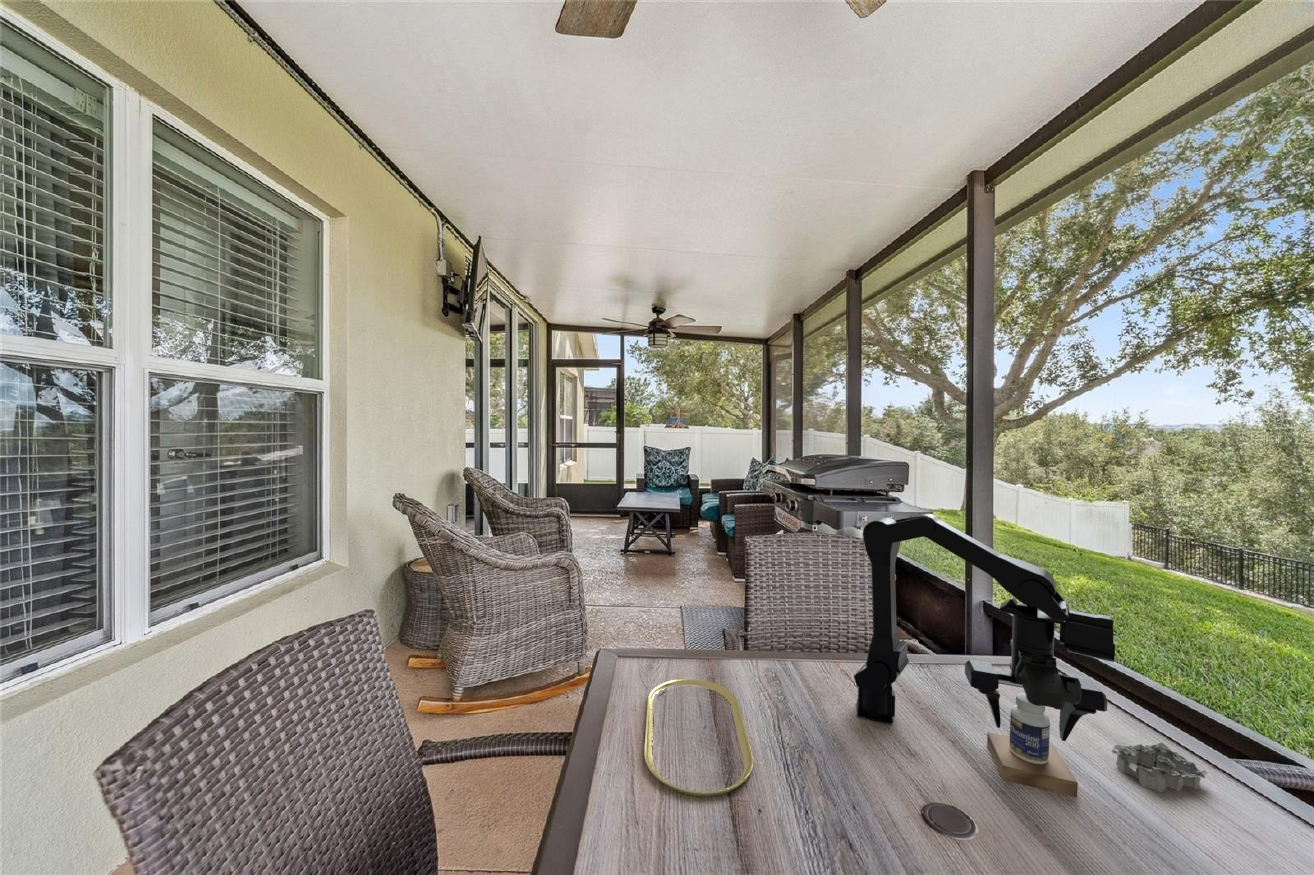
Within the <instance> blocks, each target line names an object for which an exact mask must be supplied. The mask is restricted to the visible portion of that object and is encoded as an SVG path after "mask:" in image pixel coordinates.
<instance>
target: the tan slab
mask: <svg viewBox="0 0 1314 875" xmlns="http://www.w3.org/2000/svg"><path fill="white" fill-rule="evenodd" d="M986 733H987V734H986V736H987V738H986V740H987V741H986V744H987V745H986V747H987V748H988V750H989V752H990V755H991V757H992V759H993V761H994V764H995V766H996V768H997V770H998V773H999V776H1000V777H1001V780H1002V781H1006V782H1010V783H1013V784H1014V783H1015V784H1018V785H1022V786H1025V787H1026V786H1027V787H1031V788H1036V789H1040V790H1044V791H1047V792H1048V791H1049V792H1052V793H1057V794H1062V795H1066V796H1070V797H1074V798H1078V794H1079V793H1078V788H1079V787H1078V786H1079V785H1078V784H1079V782H1078V780H1077V779H1076V777H1075V776H1074V774H1073V773H1072V771H1071V769H1070V768H1069V767H1068V765H1067V763H1066V762H1065V761H1064V759H1063V757H1062V756H1061V755H1060V753H1059V750H1057V748H1056V747H1055V745H1052V744H1049V757H1048V762H1047V763H1045V764H1033V763H1029V762H1027V761H1024V760H1022V759H1020V758H1019V757H1017V756H1016V755H1014V754H1013V753H1012V752H1011V750H1010V735H1006V734H1005V735H1004V734H1001V733H996V732H995V733H994V732H992V731H991V732H990V731H987V732H986Z"/></svg>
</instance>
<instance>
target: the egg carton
mask: <svg viewBox="0 0 1314 875" xmlns="http://www.w3.org/2000/svg"><path fill="white" fill-rule="evenodd" d="M1111 753H1112V754H1113V755H1116V765H1117V770H1118V771H1120V772H1121V773H1123V774H1127V775H1131V776H1133V777H1135V778H1137V779H1138V784H1140V785H1141V786H1143V787H1144V788H1149V789H1152V790H1154V791H1157V792H1159V793H1160V792H1165V791H1166V790H1165V789H1166V788H1167V787H1168V788H1171V789H1174V790H1176V791H1182V790H1183V786H1186V787H1189V788H1192V789H1194V790H1201V785H1200V784H1201V780H1202V779H1205V776H1206V775H1208V773H1207V771H1206V770H1200V769H1199V768H1198V767H1197V766H1196V763H1194V762H1193V761H1189V760H1188V759H1187V758H1186V757H1184V756H1182V755H1181V754H1180V753H1178V752H1177V751H1173V750H1172V749H1171V748H1170V747H1168V746H1167V745H1166V744H1165V743H1163V742H1159V743H1157V744H1151V745H1148V744H1145V745H1143V744H1137V745H1128V746H1125V745H1120V744H1116V745H1114V747H1113V748H1112V750H1111ZM1155 762H1156V767H1155ZM1138 764H1140V765H1138ZM1142 765H1143V766H1142ZM1144 766H1145V767H1148V768H1145V767H1144ZM1149 767H1150V768H1151V769H1149ZM1201 778H1202V779H1201Z"/></svg>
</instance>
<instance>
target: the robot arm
mask: <svg viewBox="0 0 1314 875" xmlns="http://www.w3.org/2000/svg"><path fill="white" fill-rule="evenodd" d="M918 538H926V539H928V540H930V541H932V542H933V543H935V544H936V545H938V546H940V547H942V548H943V549H945V550H947V551H948V552H950V553H952V554H954V555H955V556H956V557H959V558H960V559H961V560H964V561H965V562H968V563H969V564H971V565H973V566H974V567H976V568H977V569H979V570H980V571H983V572H984V573H986V574H987V575H989V576H990V577H991V578H993V579H994V580H995V581H996V582H997V583H998V585H1000V586H1001V587H1002V588H1003V590H1005V591H1006V592H1007V593H1009V594H1010V595H1011V597H1010V598H1009V599H1008V600H1006V601H1004V602H1002V603H1001V605H1000V607H999V609H998V610H999V612H1001V613H1004V614H1010V615H1012V626H1011V627H1012V628H1011V629H1012V631H1011V633H1012V634H1011V639H1010V643H1009V644H1010V647H1011V659H1010V660H1011V662H1009V669H1010V673H1009V672H1004V671H1003V672H1002V671H997V670H995V668H994V666H993V665H992V663H991V662H985V661H984V662H983V661H980V660H973V659H968V660H967V661H966V662H965V664H964V674H965V677H966V678H967V681H968V683H969V685H970V687H972V688H974V689H976V690H978V692H979V693H980V694H983V695H985V696H986V698H987V702H988V705H989V708H990V711H991V715H992V717H993V720H994V723H995V726H996V728H998V729H1000V728H1001V721H1002V720H1001V708H1000V698H1001V694H1000V691H998V689H999V687H1000V686H999V685H1000V684H1001V685H1006V686H1011V687H1016V688H1022V689H1023V691H1024V693H1026V698H1027V700H1028V701H1029V702H1030V703H1031V704H1033V705H1036V706H1045V707H1047V708H1052V709H1055V710H1059V723H1058V724H1059V725H1058V729H1059V730H1058V731H1059V738H1060V739H1061V741H1062V742H1066V741H1067V740H1068V738H1069V736H1070V734H1071V733H1072V731H1073V729H1074V727H1075V726H1076V725H1077V723H1078V722H1079V720H1080V719H1081V718H1082V717H1083V716H1085V715H1088V714H1091V715H1095V714H1096V713H1097V711H1099V712H1104V713H1105V712H1107V711H1108V698H1107V695H1106V694H1105V693H1104V692H1103V691H1102V690H1101V689H1100V688H1099V687H1098V686H1097V684H1095V683H1094V682H1093V680H1091V679H1089V678H1084V677H1083V678H1082V677H1078V676H1071V675H1065V674H1061V673H1059V670H1058V667H1057V658H1056V656H1055V655H1054V654H1055V653H1054V652H1055V648H1054V647H1055V627H1056V626H1055V625H1056V624H1057V625H1059V644H1061V645H1063V644H1064V645H1063V648H1064V649H1067V652H1068V653H1073V654H1078V655H1081V656H1085V657H1088V658H1089V657H1090V658H1095V659H1098V660H1103V661H1105V662H1106V661H1107V662H1112V663H1114V662H1115V658H1116V657H1115V656H1116V642H1115V638H1114V637H1115V636H1114V619H1113V617H1112V616H1109V615H1104V614H1094V613H1088V612H1083V611H1077V610H1072V609H1070V605H1069V604H1068V603H1067V601H1065V599H1064V598H1063V597H1062V595H1061V594H1060V593H1059V592H1058V590H1057V584H1056V580H1055V578H1054V576H1053V575H1052V574H1051V572H1049V570H1047V569H1045V568H1042V567H1040V566H1038V565H1035V564H1032V563H1030V562H1027V561H1024V560H1022V559H1018V558H1016V557H1015V558H1014V557H1010V556H1009V555H1005V554H1003V553H1000V552H998V551H997V550H995V549H993V548H991V547H990V546H988V545H986V544H985V543H982V542H980V541H979V540H977V539H975V538H973V537H971V536H970V535H968V534H966V533H965V532H963V531H961V530H959V529H957V528H955V527H953V526H952V525H950V524H949V523H946V522H945V521H943V520H941V519H940V518H938V517H937V516H936V515H935V514H932V513H925V514H921V515H918V516H912V517H906V518H905V517H904V518H900V519H899V518H898V519H894V518H892V517H891V518H890V517H886V516H884V517H880V518H878V519H875V520H873V521H869V522H868V523H867V524H866V525H865V526H864V527H863V531H862V539H863V543H864V544H863V545H864V548H865V549H864V550H865V552H866V554H867V556H868V559H869V561H870V564H871V593H872V594H871V595H872V596H871V597H872V602H871V603H872V630H873V631H872V632H873V633H872V638H871V641H870V643H869V647H868V652H867V657H866V662H865V663H864V664H863V665H862V666H861V667H860V668H859V670H857V672H856V673H855V674H854V675H853V678H854V682H855V684H856V687H857V699H856V717H858V718H860V719H861V718H862V719H867V720H872V721H877V722H881V723H886V724H889V725H891V724H892V725H893V723H894V722H893V721H894V719H893V718H894V717H896V716H895V715H896V694H895V693H896V692H895V691H894V690H893V685H892V684H894V683H895V682H896V680H897V679H898V678H899V677H900V675H901V674H902V672H903V671H904V670H905V668H906V667H907V666H908V664H909V663H910V660H909V658H908V654H907V653H908V646H909V644H908V642H902V641H901V640H900V637H899V636H898V630H897V601H896V600H897V594H896V588H897V587H896V561H897V558H898V555H899V551H900V547H901V542H904V541H909V540H910V541H911V540H913V539H918ZM1016 599H1017V600H1016Z"/></svg>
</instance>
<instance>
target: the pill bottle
mask: <svg viewBox="0 0 1314 875" xmlns="http://www.w3.org/2000/svg"><path fill="white" fill-rule="evenodd" d="M1045 712H1046V706H1036V705H1033V704H1031V703H1030V702H1029V701H1028V700H1027V698H1026V693H1025V692H1018V693H1017V694H1016V695H1015V704H1014V705H1013V706H1011V708H1010V714H1009V715H1010V719H1009V720H1010V721H1009V722H1010V725H1009V736H1010V750H1011V752H1012V753H1013V754H1014V755H1016V756H1017V757H1019V758H1020V759H1022V760H1024V761H1027V762H1029V763H1033V764H1045V763H1047V762H1048V757H1049V745H1050V734H1051V732H1050V730H1051V729H1050V728H1051V727H1050V726H1051V721H1050V718H1049V716H1048V714H1046V713H1045Z"/></svg>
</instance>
